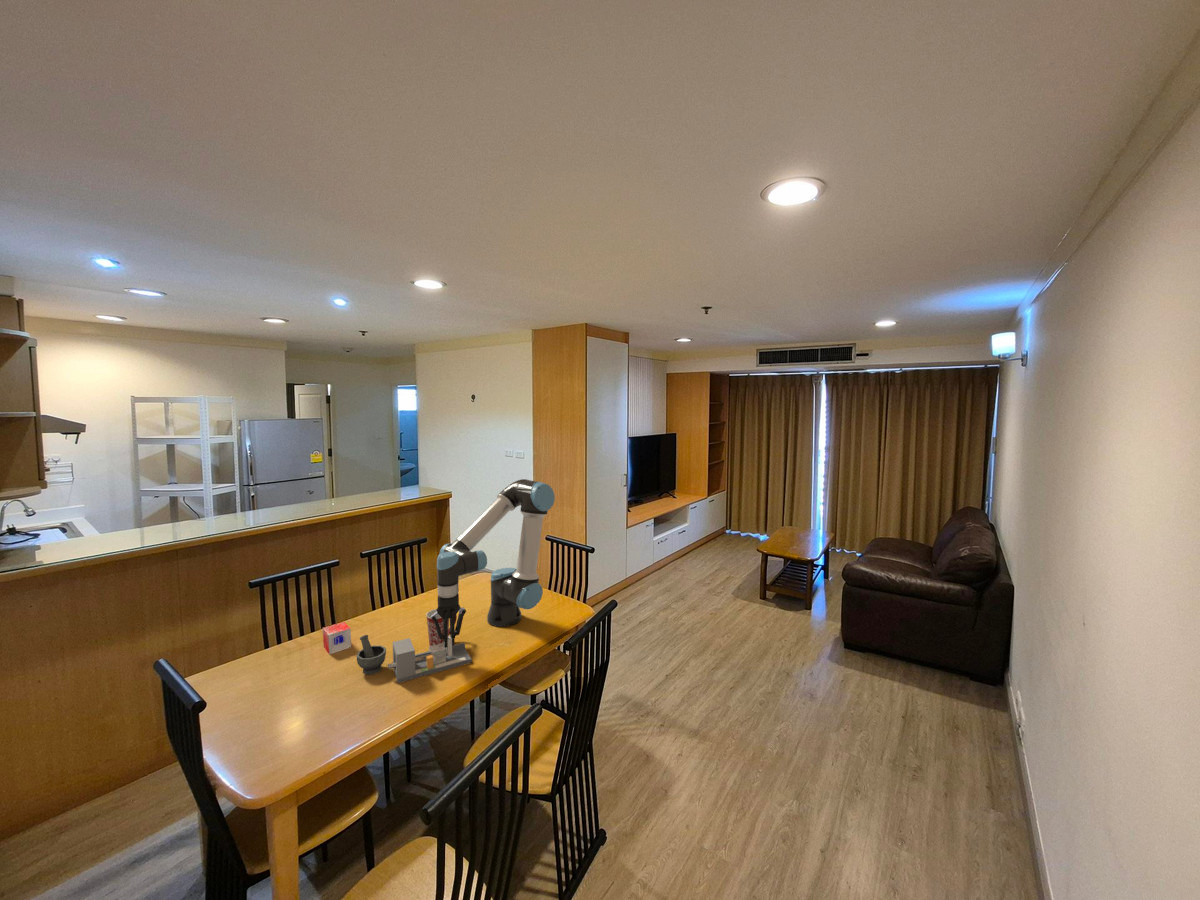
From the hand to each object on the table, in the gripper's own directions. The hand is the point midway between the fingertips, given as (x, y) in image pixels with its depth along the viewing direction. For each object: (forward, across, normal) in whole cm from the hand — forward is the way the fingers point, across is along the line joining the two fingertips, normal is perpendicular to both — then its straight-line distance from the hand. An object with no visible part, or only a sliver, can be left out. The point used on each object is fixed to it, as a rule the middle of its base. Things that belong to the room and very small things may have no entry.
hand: (449, 654), depth 178 cm
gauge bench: (+3, +6, 0) cm, 7 cm away
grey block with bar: (+1, +12, +1) cm, 12 cm away
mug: (+3, -1, -15) cm, 15 cm away
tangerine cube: (+1, +8, +4) cm, 9 cm away
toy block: (+3, +36, -33) cm, 49 cm away
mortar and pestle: (+3, +26, -9) cm, 28 cm away
